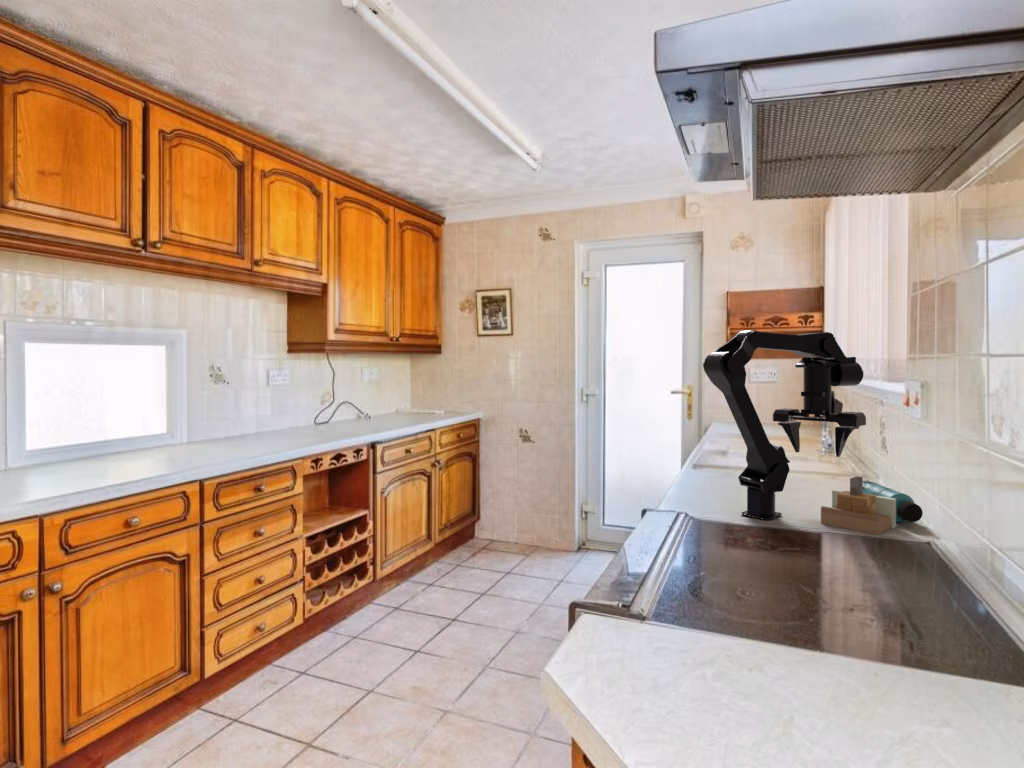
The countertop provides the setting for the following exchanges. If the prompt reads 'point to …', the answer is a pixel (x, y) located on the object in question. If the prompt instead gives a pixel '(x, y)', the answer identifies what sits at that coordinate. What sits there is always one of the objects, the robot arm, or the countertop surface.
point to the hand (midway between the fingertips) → (817, 454)
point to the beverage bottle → (904, 503)
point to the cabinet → (856, 498)
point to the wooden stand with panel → (861, 516)
